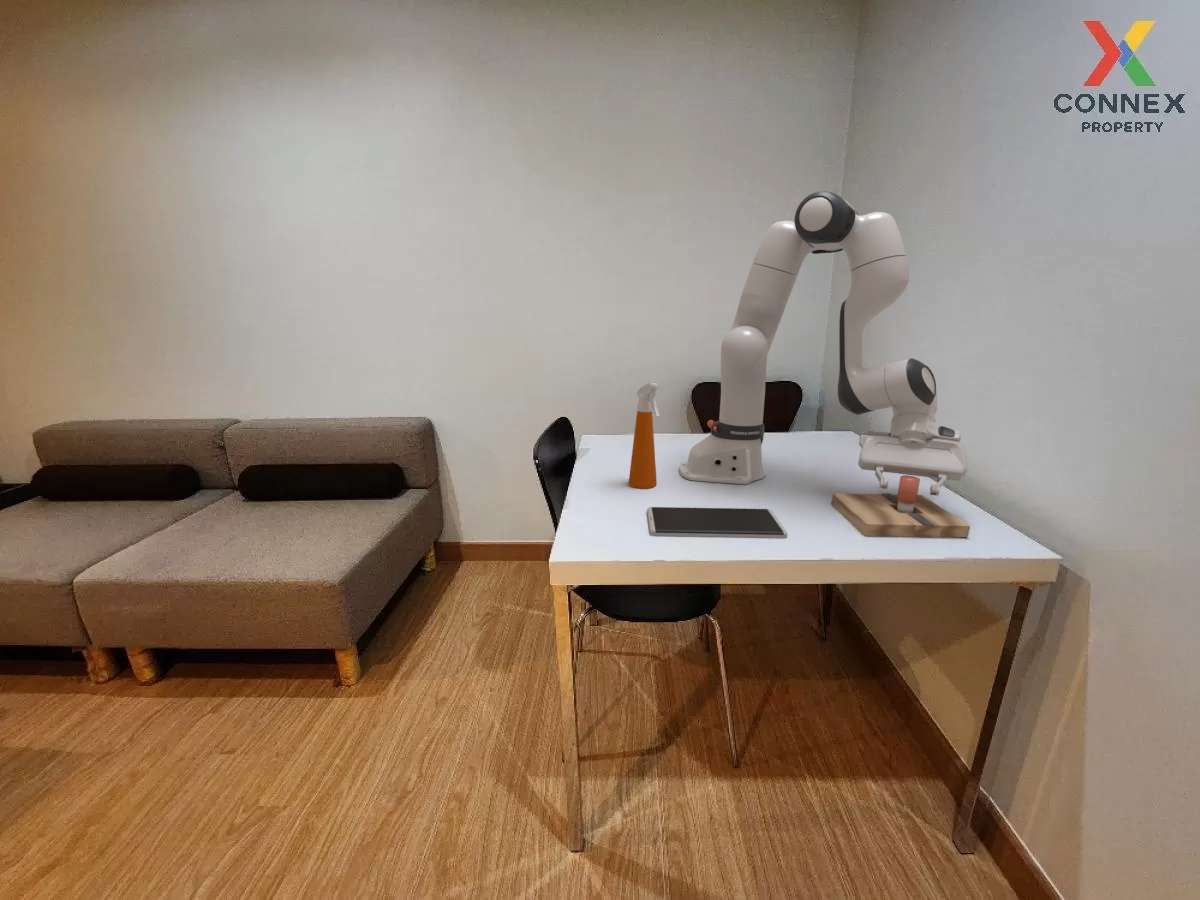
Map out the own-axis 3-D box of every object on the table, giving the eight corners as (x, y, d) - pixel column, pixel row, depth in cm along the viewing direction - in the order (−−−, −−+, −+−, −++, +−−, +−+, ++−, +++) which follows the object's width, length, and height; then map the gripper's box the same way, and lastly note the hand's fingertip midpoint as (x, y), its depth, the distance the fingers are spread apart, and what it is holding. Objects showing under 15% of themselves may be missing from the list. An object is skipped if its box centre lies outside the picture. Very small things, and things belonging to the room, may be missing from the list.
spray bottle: (642, 495, 132) (645, 385, 125) (624, 481, 141) (625, 379, 134) (668, 491, 134) (673, 383, 127) (648, 478, 144) (651, 377, 137)
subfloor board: (864, 536, 109) (866, 523, 109) (831, 503, 127) (832, 492, 126) (967, 537, 109) (970, 525, 108) (919, 505, 126) (921, 494, 125)
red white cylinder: (899, 521, 116) (905, 480, 114) (891, 514, 119) (897, 475, 117) (916, 521, 116) (923, 480, 113) (908, 515, 119) (914, 475, 117)
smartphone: (788, 541, 108) (789, 532, 108) (650, 538, 109) (650, 530, 108) (770, 515, 121) (770, 508, 121) (646, 513, 122) (646, 506, 121)
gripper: (861, 422, 123) (855, 476, 117) (969, 432, 115) (969, 490, 109) (859, 438, 128) (853, 490, 122) (962, 448, 120) (961, 504, 114)
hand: (908, 490), depth 115 cm, fingers open, 8 cm apart
